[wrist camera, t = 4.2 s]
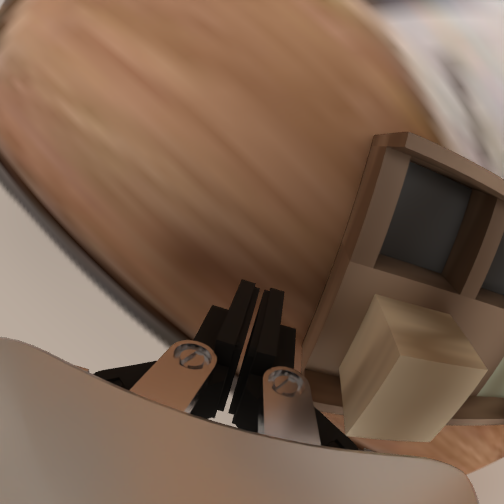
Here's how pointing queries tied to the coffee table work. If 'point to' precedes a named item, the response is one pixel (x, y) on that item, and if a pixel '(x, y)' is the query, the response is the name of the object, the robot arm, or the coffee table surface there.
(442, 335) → the birch block
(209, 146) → the coffee table surface
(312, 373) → the box
